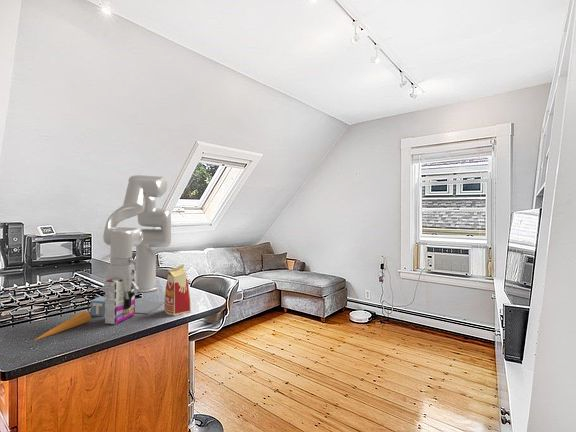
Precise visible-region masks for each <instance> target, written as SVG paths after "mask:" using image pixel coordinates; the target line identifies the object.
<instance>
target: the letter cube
mask: <svg viewBox="0 0 576 432" xmlns="http://www.w3.org/2000/svg"><path fill="white" fill-rule="evenodd" d="M89 314H90V315H91V316H97V317H105V295H104V296H100V295H99V296H97V297H96V298H94V299H91V300H90V312H89Z"/></svg>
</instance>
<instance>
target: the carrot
mask: <svg viewBox="0 0 576 432" xmlns="http://www.w3.org/2000/svg"><path fill="white" fill-rule="evenodd" d="M91 319H92V315H90V312H89V311H81V312H79V313H77V314H75V315H74V316H72V317H70V318H68V319H67V320H65V321H63V322H61V323H60V324H59V325H56V326H55V327H53V328H51V329H49V330H48V331H46V332H44V333H42V335H40V336H38V337H37V338H35V339H33V342H34V341H38V340H40V339H44V338H47V337H50V336H53V335H55V334H59V333H61V332H65V331H66V330H67V331H68V330H70V329H73V328H75V327H79V326H82V325H83V324H87V323H88V322H90V320H91Z"/></svg>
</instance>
